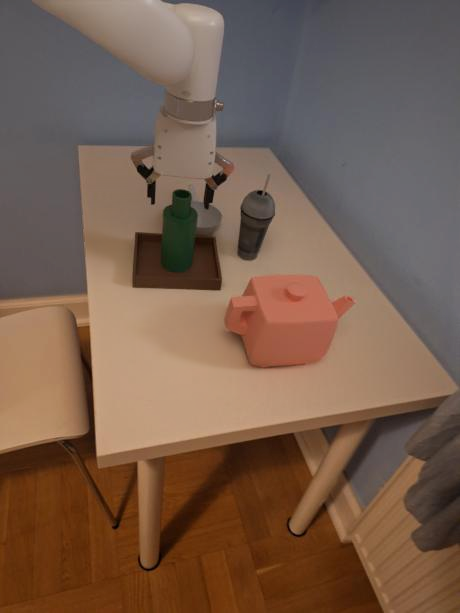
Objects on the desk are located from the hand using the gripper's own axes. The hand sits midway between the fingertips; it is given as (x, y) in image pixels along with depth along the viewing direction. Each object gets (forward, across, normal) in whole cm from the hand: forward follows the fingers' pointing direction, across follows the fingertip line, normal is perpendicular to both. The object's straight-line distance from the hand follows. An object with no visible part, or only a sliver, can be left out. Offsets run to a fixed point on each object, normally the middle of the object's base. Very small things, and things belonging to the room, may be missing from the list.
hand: (179, 203), depth 74 cm
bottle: (+14, 0, 0) cm, 14 cm away
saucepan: (+15, -6, -18) cm, 24 cm away
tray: (+15, -1, 0) cm, 15 cm away
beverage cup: (+15, -17, -5) cm, 23 cm away
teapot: (+15, -18, +20) cm, 31 cm away
